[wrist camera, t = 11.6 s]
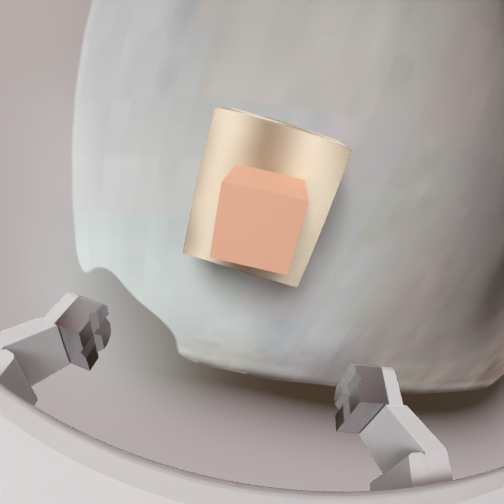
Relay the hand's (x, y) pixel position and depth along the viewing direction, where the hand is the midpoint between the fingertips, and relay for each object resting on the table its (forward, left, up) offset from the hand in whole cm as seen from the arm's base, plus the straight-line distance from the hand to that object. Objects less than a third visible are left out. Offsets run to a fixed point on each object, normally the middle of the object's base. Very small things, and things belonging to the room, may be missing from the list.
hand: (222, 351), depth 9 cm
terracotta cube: (0, 0, -15) cm, 15 cm away
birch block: (0, 0, -21) cm, 21 cm away
